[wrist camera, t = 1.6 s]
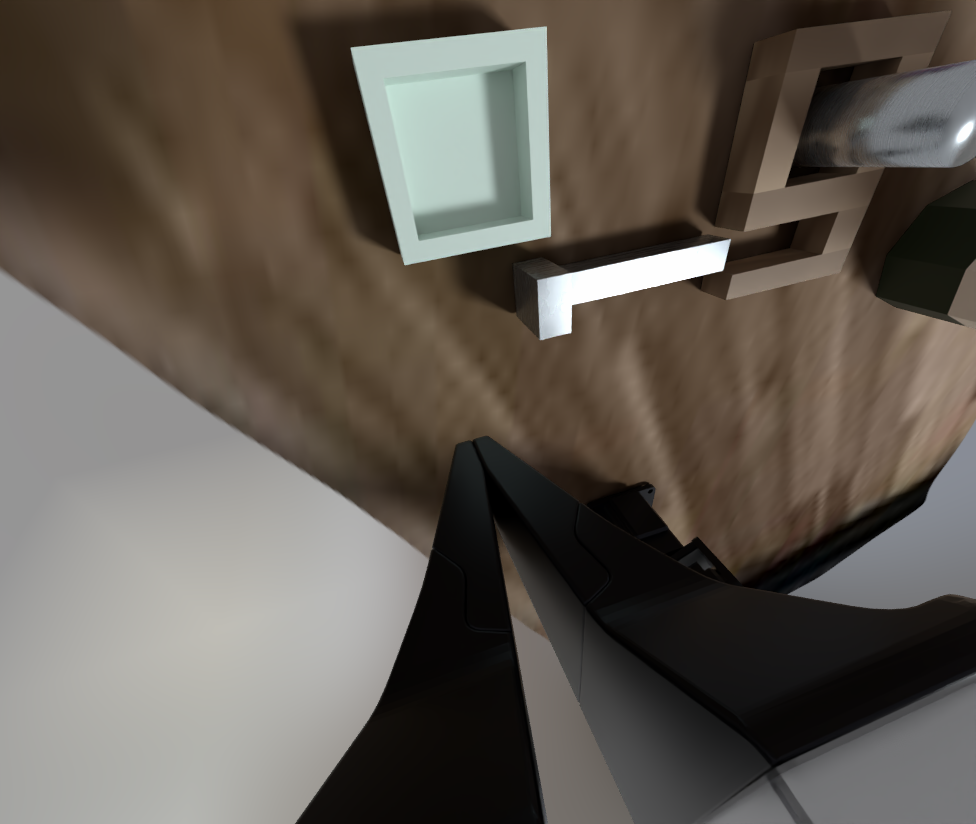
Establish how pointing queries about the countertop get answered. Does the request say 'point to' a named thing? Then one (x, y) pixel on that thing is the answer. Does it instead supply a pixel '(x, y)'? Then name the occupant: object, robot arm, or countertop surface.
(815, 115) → the polished steel rod
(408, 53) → the tray
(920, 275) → the wine bottle
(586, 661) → the robot arm
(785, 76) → the socket block
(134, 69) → the countertop surface
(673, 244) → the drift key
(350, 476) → the countertop surface
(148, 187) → the countertop surface
